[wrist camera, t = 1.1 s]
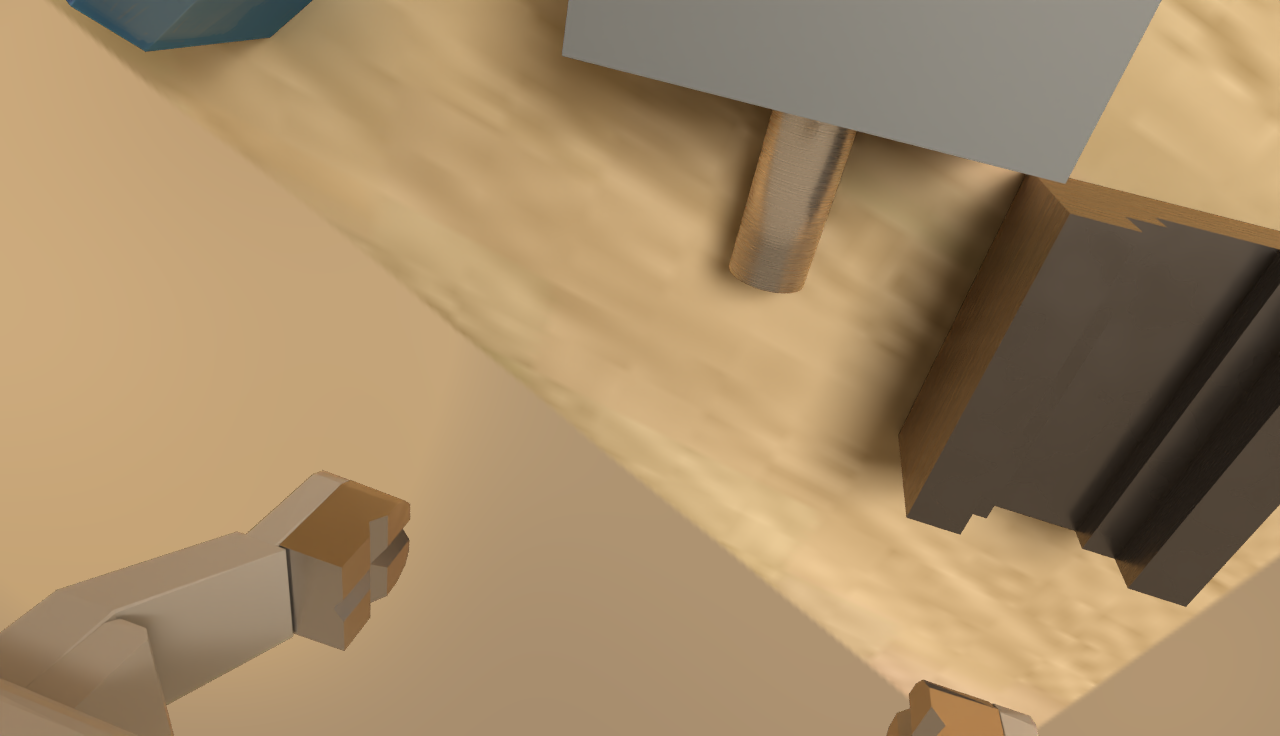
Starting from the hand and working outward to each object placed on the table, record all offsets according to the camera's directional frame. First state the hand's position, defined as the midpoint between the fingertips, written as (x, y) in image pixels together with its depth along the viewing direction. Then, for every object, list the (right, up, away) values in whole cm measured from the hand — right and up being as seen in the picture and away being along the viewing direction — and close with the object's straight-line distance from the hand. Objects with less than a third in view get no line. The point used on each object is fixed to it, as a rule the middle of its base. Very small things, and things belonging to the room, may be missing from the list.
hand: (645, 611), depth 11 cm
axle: (+6, +13, +15) cm, 21 cm away
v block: (+17, +4, +16) cm, 24 cm away
